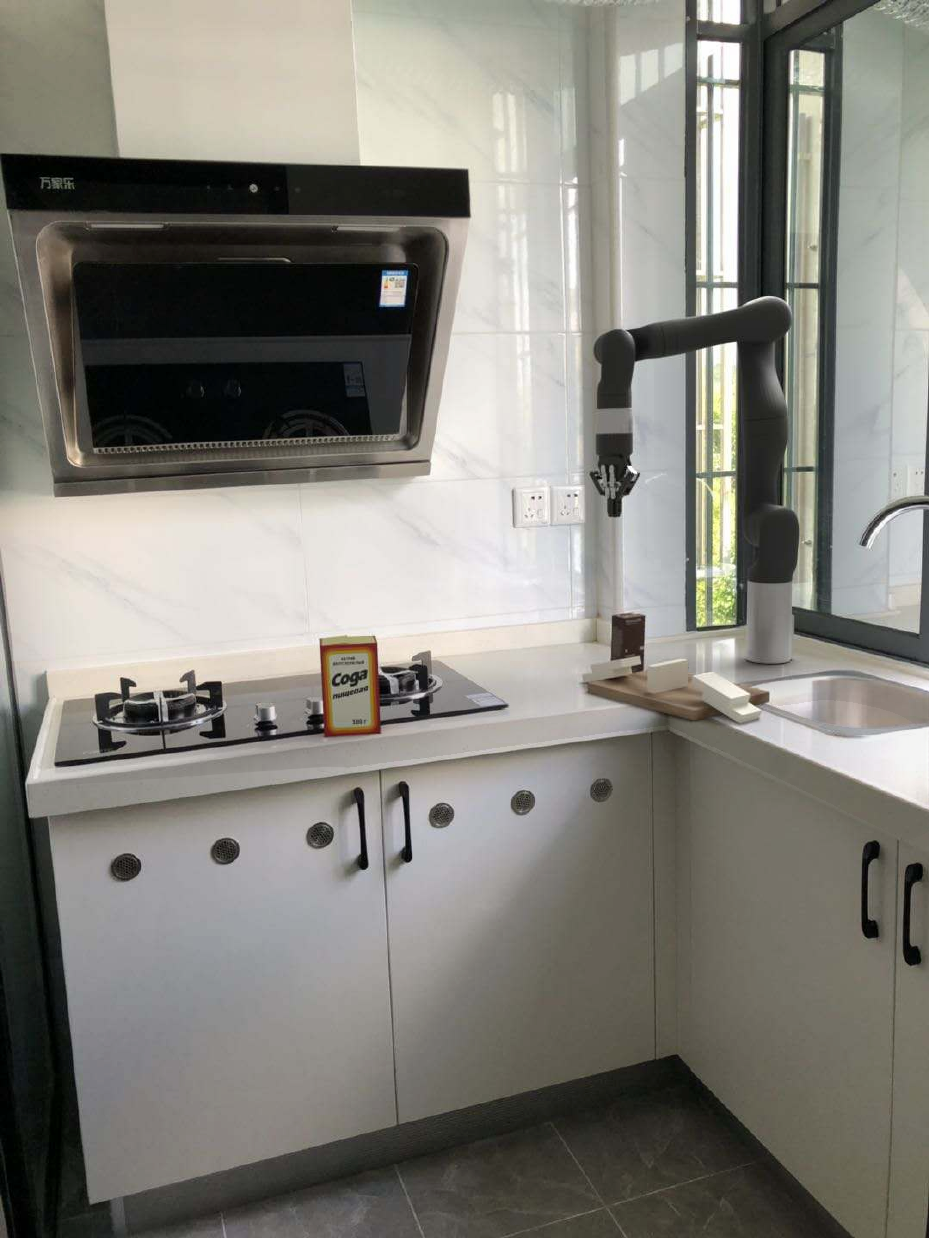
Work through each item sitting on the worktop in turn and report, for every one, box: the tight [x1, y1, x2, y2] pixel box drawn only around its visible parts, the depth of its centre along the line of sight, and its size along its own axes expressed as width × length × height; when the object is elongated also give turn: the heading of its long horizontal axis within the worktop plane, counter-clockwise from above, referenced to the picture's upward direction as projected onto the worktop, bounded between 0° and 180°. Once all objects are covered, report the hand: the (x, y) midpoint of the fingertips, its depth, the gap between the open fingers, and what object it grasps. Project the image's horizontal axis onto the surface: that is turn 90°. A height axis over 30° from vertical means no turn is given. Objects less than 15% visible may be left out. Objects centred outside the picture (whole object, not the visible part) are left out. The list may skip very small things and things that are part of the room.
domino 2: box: [581, 666, 633, 683], centre depth 201 cm, size 2×5×9 cm
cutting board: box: [586, 669, 771, 721], centre depth 190 cm, size 20×27×2 cm
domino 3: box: [647, 658, 689, 694], centre depth 189 cm, size 2×5×9 cm
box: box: [610, 611, 647, 673], centre depth 211 cm, size 6×4×12 cm
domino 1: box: [590, 656, 641, 673], centre depth 199 cm, size 2×5×9 cm
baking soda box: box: [319, 635, 382, 738], centre depth 173 cm, size 10×6×16 cm
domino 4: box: [691, 671, 750, 707], centre depth 177 cm, size 2×5×9 cm
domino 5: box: [701, 692, 762, 724], centre depth 176 cm, size 2×5×9 cm
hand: (614, 516), depth 210 cm, fingers closed
